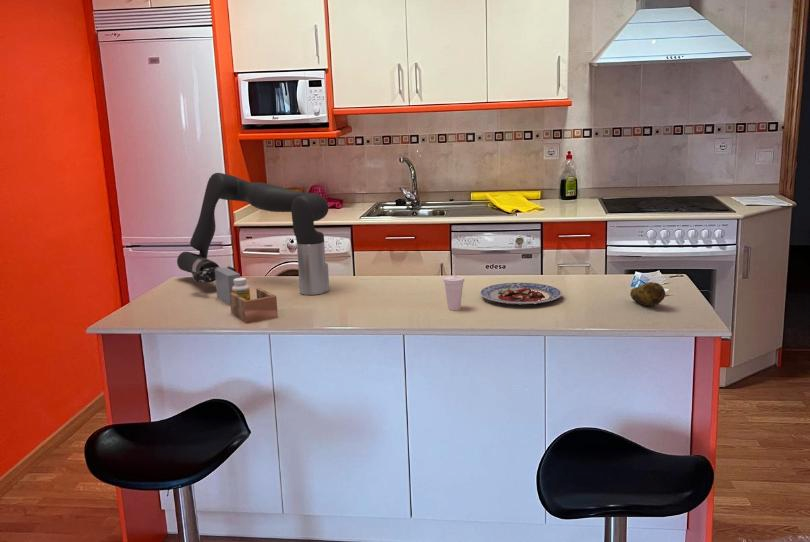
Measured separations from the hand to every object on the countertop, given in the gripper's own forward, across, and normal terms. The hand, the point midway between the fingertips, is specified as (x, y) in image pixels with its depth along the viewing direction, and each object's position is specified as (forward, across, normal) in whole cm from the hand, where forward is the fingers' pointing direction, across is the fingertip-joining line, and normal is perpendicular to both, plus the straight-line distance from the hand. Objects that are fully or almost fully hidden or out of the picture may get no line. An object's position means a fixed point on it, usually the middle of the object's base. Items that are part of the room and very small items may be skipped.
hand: (221, 277), depth 251 cm
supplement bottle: (+19, 0, +7) cm, 20 cm away
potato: (+95, +99, +7) cm, 138 cm away
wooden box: (+29, 0, +7) cm, 30 cm away
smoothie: (+62, +52, +7) cm, 81 cm away
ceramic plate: (+64, +76, +7) cm, 100 cm away
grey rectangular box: (+7, 0, +7) cm, 10 cm away
